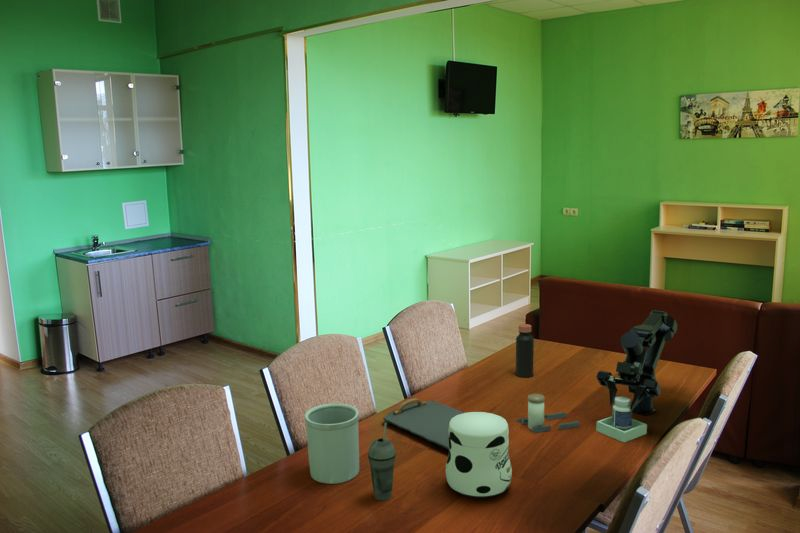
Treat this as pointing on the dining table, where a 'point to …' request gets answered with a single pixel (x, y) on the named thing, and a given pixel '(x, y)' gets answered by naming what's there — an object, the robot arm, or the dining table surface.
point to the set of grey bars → (548, 427)
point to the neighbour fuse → (535, 410)
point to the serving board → (424, 420)
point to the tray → (624, 436)
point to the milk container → (478, 455)
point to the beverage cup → (382, 466)
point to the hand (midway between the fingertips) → (620, 407)
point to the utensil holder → (333, 442)
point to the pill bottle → (622, 414)
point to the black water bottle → (524, 351)
